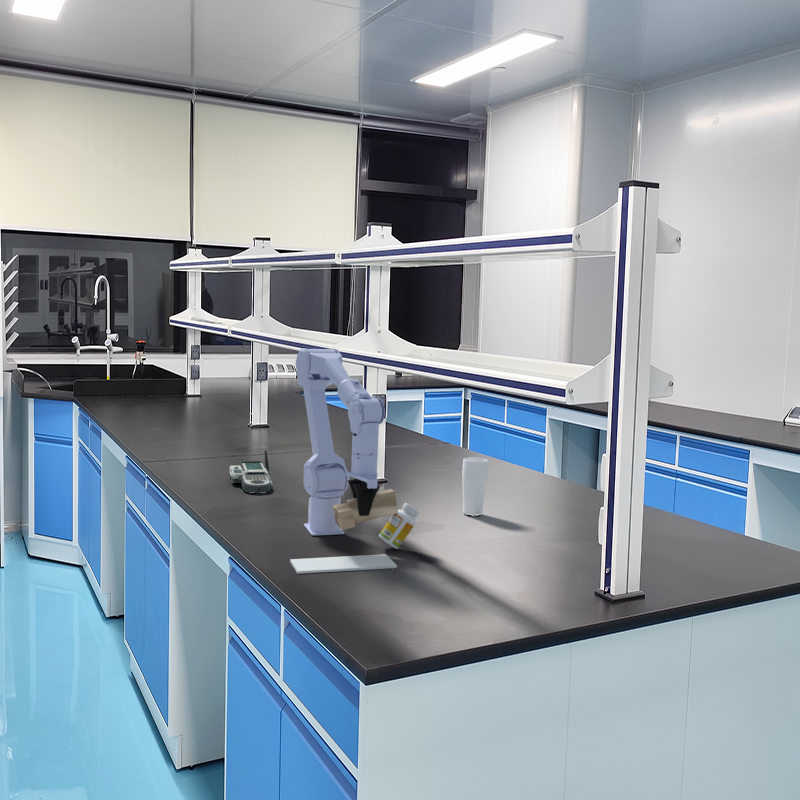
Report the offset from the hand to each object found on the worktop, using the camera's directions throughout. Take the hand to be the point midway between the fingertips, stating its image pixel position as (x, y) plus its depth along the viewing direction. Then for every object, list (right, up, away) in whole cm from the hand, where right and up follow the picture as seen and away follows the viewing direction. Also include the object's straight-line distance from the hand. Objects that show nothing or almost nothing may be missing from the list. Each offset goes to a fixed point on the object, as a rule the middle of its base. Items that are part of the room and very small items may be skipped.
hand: (362, 513), depth 179 cm
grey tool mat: (-4, -9, -10) cm, 14 cm away
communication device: (-36, -1, +62) cm, 72 cm away
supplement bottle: (+5, -7, +3) cm, 9 cm away
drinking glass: (+28, -6, +39) cm, 48 cm away
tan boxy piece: (+1, -1, +1) cm, 2 cm away
